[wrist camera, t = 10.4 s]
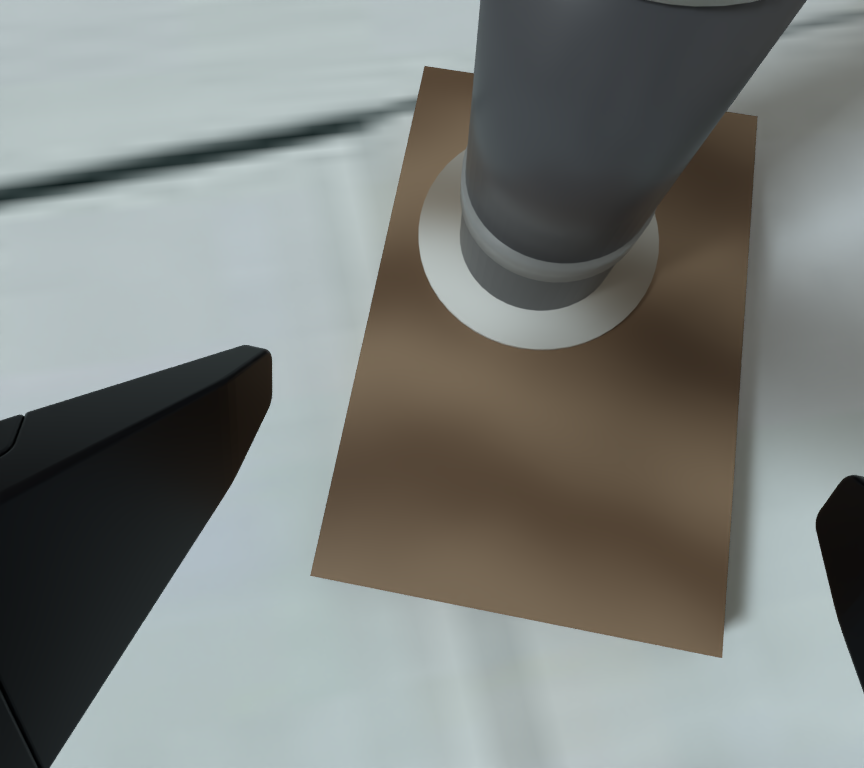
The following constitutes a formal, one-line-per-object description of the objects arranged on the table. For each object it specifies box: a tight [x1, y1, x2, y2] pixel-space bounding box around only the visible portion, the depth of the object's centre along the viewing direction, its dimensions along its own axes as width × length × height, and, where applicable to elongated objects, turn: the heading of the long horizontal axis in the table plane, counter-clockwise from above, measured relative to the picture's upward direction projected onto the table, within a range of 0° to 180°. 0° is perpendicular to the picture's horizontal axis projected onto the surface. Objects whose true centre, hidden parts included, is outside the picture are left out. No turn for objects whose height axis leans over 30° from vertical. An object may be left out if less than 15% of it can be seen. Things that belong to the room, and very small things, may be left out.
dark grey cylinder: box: [460, 0, 807, 311], centre depth 12 cm, size 5×5×13 cm
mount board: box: [310, 66, 757, 658], centre depth 19 cm, size 18×12×2 cm, turn 169°
